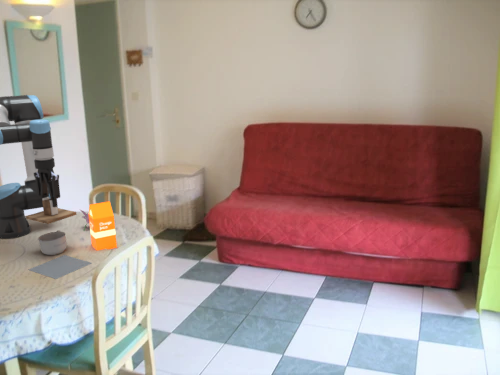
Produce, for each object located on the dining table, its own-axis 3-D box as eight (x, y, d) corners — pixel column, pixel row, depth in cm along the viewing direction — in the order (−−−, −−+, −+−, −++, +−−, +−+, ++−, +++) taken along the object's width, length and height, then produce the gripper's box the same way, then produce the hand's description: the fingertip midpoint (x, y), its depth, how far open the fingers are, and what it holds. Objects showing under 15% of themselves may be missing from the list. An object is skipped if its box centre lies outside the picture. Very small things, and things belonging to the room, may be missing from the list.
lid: (26, 218, 208) (23, 202, 206) (55, 210, 219) (53, 194, 217) (47, 224, 200) (45, 206, 198) (76, 214, 212) (74, 198, 210)
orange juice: (117, 247, 217) (112, 203, 212) (96, 252, 212) (91, 206, 207) (111, 242, 223) (107, 199, 218) (91, 246, 219) (86, 202, 214)
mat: (28, 271, 195) (27, 269, 195) (64, 256, 209) (64, 254, 208) (56, 280, 186) (55, 279, 186) (92, 264, 200) (92, 263, 200)
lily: (101, 234, 237) (106, 214, 239) (76, 228, 232) (81, 208, 234) (96, 234, 247) (101, 215, 249) (72, 229, 242) (77, 210, 244)
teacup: (58, 258, 206) (56, 240, 204) (34, 257, 208) (32, 239, 206) (76, 246, 219) (74, 229, 217) (54, 245, 221) (51, 228, 219)
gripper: (22, 158, 205) (30, 212, 211) (49, 161, 196) (56, 219, 202) (39, 154, 211) (46, 208, 217) (65, 158, 202) (72, 214, 208)
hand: (51, 213), depth 209 cm, fingers closed on lid, 4 cm apart
